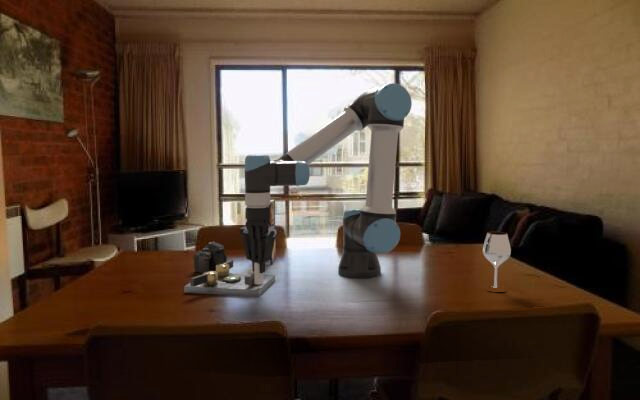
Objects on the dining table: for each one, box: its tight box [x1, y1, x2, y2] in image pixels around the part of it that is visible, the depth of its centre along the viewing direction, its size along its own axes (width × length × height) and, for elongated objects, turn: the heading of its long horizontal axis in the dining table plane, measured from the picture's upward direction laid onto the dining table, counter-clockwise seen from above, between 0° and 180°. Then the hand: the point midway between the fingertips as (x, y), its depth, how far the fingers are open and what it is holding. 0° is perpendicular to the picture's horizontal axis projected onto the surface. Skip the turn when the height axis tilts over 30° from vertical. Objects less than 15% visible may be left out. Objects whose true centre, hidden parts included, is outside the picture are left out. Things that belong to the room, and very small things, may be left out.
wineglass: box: [482, 231, 512, 288], centre depth 150 cm, size 8×8×18 cm
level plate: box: [183, 272, 276, 298], centre depth 155 cm, size 24×18×3 cm
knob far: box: [215, 259, 234, 277], centre depth 164 cm, size 10×4×3 cm, turn 170°
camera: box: [192, 241, 228, 274], centre depth 178 cm, size 13×10×10 cm
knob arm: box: [245, 269, 255, 285], centre depth 151 cm, size 10×4×3 cm, turn 170°
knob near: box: [189, 270, 218, 287], centre depth 149 cm, size 10×4×3 cm, turn 150°
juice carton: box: [265, 199, 277, 266], centre depth 190 cm, size 12×8×24 cm, turn 178°
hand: (259, 283), depth 147 cm, fingers closed
